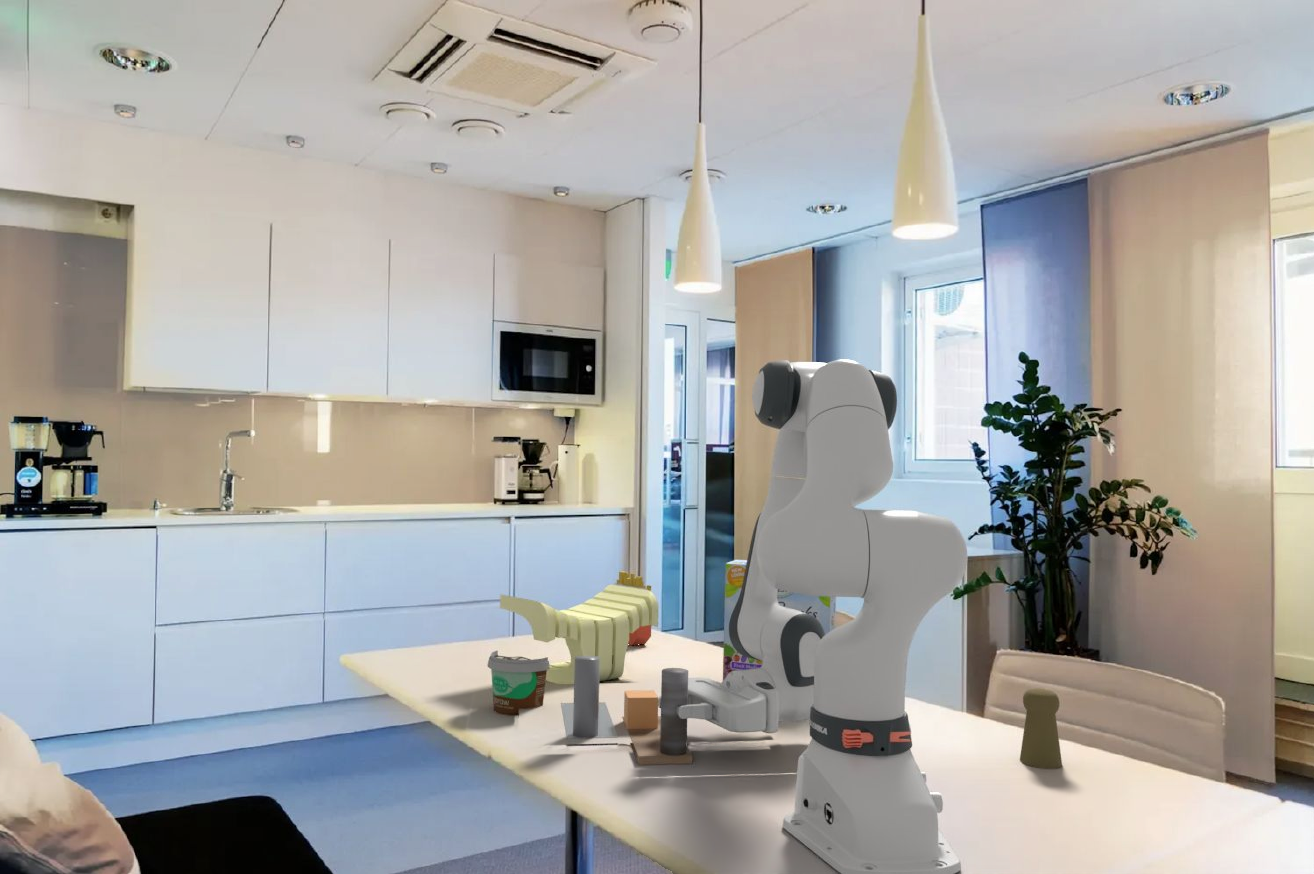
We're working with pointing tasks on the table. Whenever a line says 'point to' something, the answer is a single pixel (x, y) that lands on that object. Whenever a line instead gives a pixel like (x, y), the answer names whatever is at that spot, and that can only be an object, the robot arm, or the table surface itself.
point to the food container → (517, 683)
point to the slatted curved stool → (590, 627)
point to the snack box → (812, 605)
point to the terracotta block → (641, 709)
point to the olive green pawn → (1041, 730)
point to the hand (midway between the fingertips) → (669, 707)
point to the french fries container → (642, 632)
